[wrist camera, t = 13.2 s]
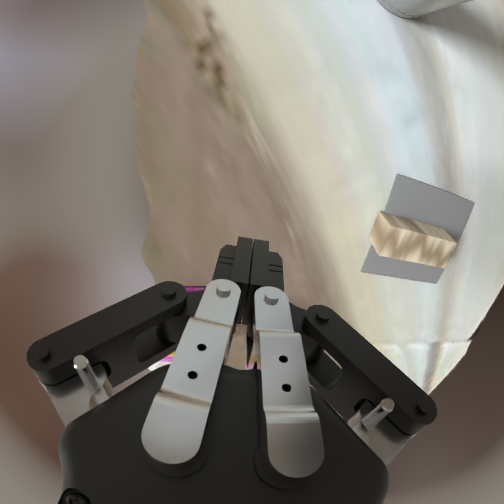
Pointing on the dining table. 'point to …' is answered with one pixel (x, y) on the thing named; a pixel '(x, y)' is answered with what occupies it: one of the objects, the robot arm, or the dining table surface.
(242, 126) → the dining table surface
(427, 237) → the birch block
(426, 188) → the slate rubber mat
